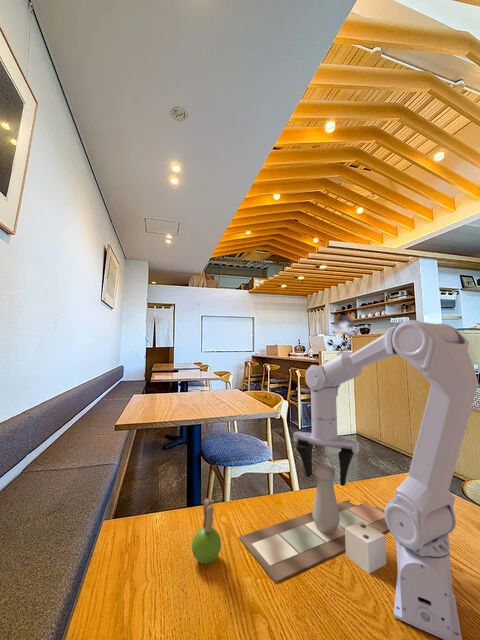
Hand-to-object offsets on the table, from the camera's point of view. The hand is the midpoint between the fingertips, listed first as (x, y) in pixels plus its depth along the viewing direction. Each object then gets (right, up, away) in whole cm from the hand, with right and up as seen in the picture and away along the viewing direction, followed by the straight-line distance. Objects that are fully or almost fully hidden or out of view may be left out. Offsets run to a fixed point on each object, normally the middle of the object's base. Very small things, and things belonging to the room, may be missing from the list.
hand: (325, 479), depth 62 cm
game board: (0, -10, -2) cm, 10 cm away
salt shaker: (0, -10, -2) cm, 10 cm away
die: (+4, -9, -10) cm, 15 cm away
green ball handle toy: (-26, -9, -12) cm, 30 cm away
